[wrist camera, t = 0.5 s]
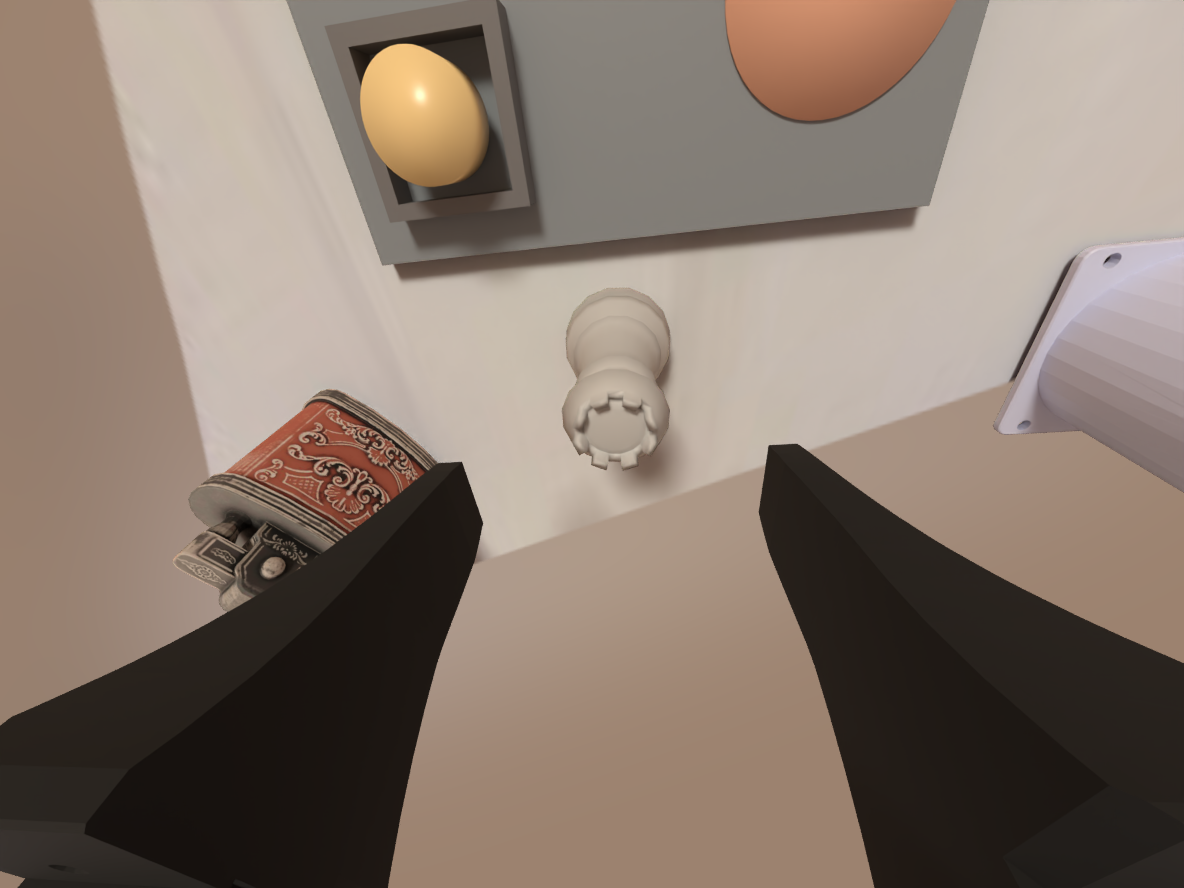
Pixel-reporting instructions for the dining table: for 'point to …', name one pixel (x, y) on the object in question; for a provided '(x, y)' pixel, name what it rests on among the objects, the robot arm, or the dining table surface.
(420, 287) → the dining table surface
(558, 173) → the grey board
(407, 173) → the button
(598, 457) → the rook chess piece
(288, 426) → the lighter
